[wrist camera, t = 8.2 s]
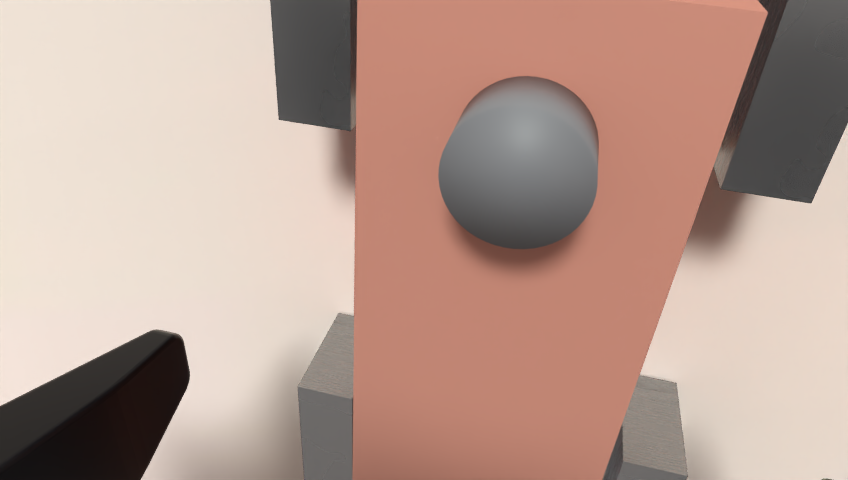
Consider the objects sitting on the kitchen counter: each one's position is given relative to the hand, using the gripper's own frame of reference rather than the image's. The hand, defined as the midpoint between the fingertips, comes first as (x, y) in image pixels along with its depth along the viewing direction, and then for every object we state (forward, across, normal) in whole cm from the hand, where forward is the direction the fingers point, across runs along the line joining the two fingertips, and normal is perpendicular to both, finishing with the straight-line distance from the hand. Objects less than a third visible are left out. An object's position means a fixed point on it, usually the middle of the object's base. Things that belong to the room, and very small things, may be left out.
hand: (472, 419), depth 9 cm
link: (+5, 0, 0) cm, 5 cm away
